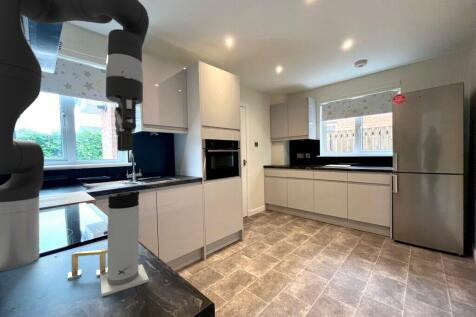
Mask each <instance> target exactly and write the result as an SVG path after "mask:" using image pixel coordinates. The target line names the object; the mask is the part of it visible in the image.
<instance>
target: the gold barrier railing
mask: <svg viewBox="0 0 476 317" xmlns="http://www.w3.org/2000/svg"><path fill="white" fill-rule="evenodd" d="M107 254H108V247H107V248H105V249H102V250H87V251H77V252H74V253H72V254H71V272H68V276H67V281H70V280H73V279H77V278H81V277H82V269H79V257H82V256H83V257H84V256H97V255H98V256H99V269H96V278H100V275H104V274H108V267H106V266H107V264H106V261H107V260H106V258H107V257H106V255H107Z"/></svg>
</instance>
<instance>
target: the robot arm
mask: <svg viewBox="0 0 476 317" xmlns="http://www.w3.org/2000/svg"><path fill="white" fill-rule="evenodd" d="M21 16H24V17H25V18H27V19H29V20H31V21H33V22H35V23H38V24H43V25H45V24H46V25H47V24H48V25H51V24H59V23H66V22H74V21H77V22H86V23H93V24H103V25H104V24H110V23H111V22H112V21H113V20H114V21H115V22H116V24H119V25H120V26H121V27H122V29H119V28H118V29H117V28H116V29H112V30H110V31H109V32H108V34H107V41H106V42H107V46H106V47H107V49H106V50H107V51H106V52H107V57H106V65H105V98H106V99H107V100H108V101H110V102H113V103H117V104H118V105H117V106H115V109H114V111H113V112H114V114H113V115H114V117H115V119H114V127H115V134H116V136H117V138H116V139H117V140H116V141H117V142H116V144H117V149H116V150H117V151H118V152H127V151H133V150H134V133H135V131H136V128H137V124H136V123H137V109H136V108H137V105H140V104H142V103H143V100H144V71H143V49H142V48H143V46H144V42H145V39H146V36H147V33H148V29H149V26H150V18H149V14H148V11H147V9H146V8H145V6H144V5H143V4H142V3H141V2H140V1H139V0H0V175H9V174H11V175H10V178H9V179H8V180H7V181H6V182H5V183H3V184H1V185H0V272H4V271H5V272H6V271H8V270H9V271H10V270H14V269H18V268H20V267H24V266H27V265H30V264H31V263H33V262H35V261H37V260H38V259H39V258H40V192H41V189H42V188H43V184H44V170H45V169H44V167H45V155H44V154H45V153H44V150H43V148H42V146H41V144H39V143H38V142H36V141H35V140H29V139H18V138H17V139H16V138H14V134H15V128H16V125H17V122H18V119H20V117H21V115H22V114H23V113H24V112H25V111H26V110H28V108H29V107H30V106H31V105H32V104H33V103H34V102H35V101H36V100H37V98H39V96H40V93H41V88H42V76H43V74H42V73H43V71H42V66H41V64H40V62H39V59H38V58H37V55H36V53H35V52H34V49H33V48H32V46H31V45H30V43H29V41H28V39H27V37H26V35H25V31H24V30H23V25H22V24H23V23H22V17H21Z"/></svg>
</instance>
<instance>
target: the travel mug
mask: <svg viewBox="0 0 476 317" xmlns="http://www.w3.org/2000/svg"><path fill="white" fill-rule="evenodd" d="M139 198H140V191H138V190H136V191H128V192H121V193H116V194H114V195H112V194H111V195H109V196H108V198H107V199H108V200H107V202H108V206H107V248H108V253H107V268H108V275H107V281H108V283H110V284H112V285H121V284H125V283H128V282H130V281H132V280H133V279H135V278H136V277H137V275H138V265H139V255H140V254H139V251H140V249H139V247H140V245H139V242H140V241H139V237H140V234H139V232H140V226H139V225H140V203H139V200H140V199H139Z"/></svg>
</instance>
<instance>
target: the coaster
mask: <svg viewBox="0 0 476 317" xmlns="http://www.w3.org/2000/svg"><path fill="white" fill-rule="evenodd" d="M147 274H148V273H147V271H146V269H145V268H144V265H143V264H142V263H141V264H138V275H137V277H136V278H135V279H133V280H132V281H130V282H128V283H125V284H121V285H112V284H110V283H108V281H107V275H108V274H104V275H100V277H99V278H100V293H101V298H102V297H105V296H108V295H112V294H115V293H117V292H118V293H119V292H122V291H124V290H128V289H130V288H133V287H136V286H140V285H143V284H146V283H148V282H150V280H149V279H150V278H149V277H148V275H147Z"/></svg>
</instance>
